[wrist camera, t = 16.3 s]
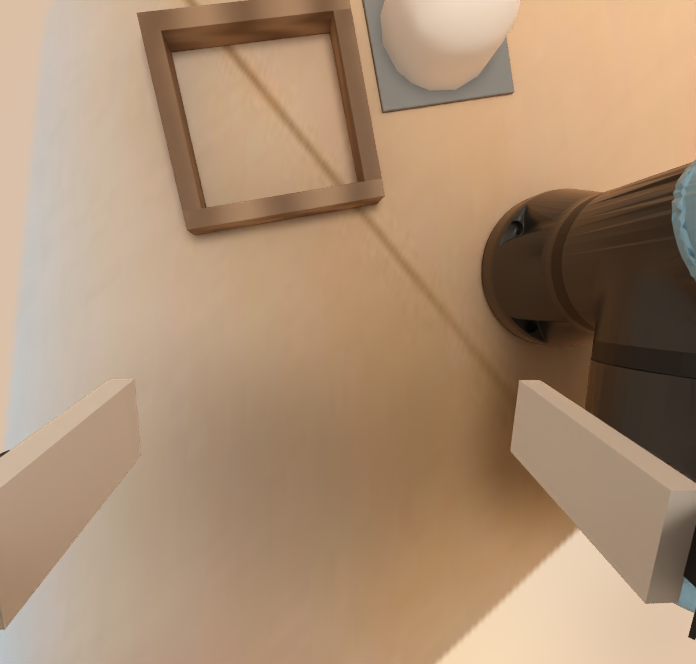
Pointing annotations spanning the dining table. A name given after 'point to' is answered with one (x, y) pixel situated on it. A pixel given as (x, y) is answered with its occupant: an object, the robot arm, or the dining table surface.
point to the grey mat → (407, 95)
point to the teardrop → (444, 38)
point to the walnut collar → (243, 27)
